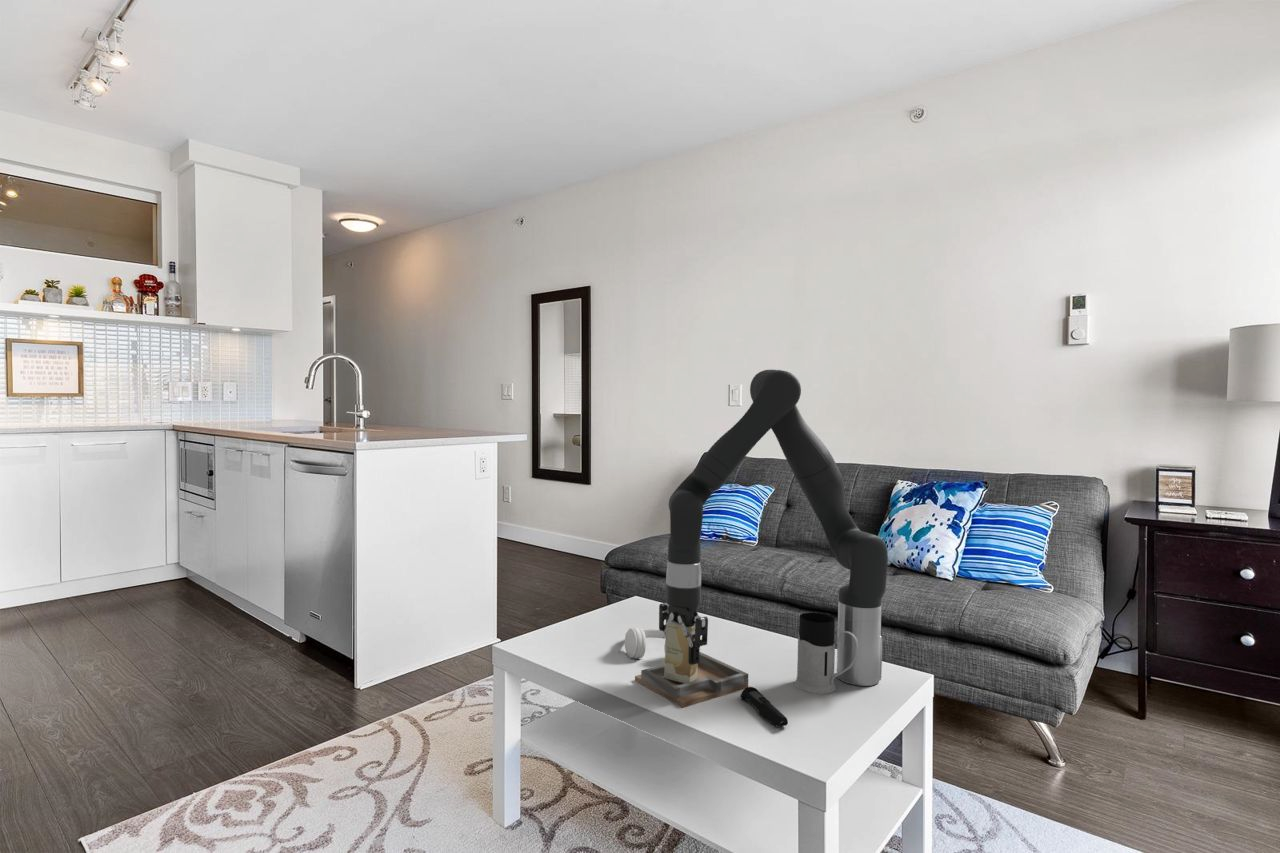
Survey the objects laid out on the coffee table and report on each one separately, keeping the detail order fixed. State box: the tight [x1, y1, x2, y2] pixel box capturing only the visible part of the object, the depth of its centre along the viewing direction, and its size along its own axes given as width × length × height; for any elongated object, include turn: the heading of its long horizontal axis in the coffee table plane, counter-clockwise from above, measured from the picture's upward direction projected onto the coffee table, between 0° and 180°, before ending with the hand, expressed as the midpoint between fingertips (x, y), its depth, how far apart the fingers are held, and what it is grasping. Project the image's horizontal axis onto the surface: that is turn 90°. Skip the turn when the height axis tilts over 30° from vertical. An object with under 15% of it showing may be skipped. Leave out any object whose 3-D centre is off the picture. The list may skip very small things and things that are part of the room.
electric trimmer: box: [740, 686, 789, 727], centre depth 132 cm, size 4×16×3 cm, turn 17°
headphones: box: [624, 627, 666, 660], centre depth 167 cm, size 7×18×20 cm
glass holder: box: [794, 612, 858, 695], centre depth 145 cm, size 9×14×15 cm, turn 42°
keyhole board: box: [634, 651, 749, 708], centre depth 146 cm, size 18×16×3 cm
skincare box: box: [664, 621, 698, 683], centre depth 144 cm, size 6×4×12 cm
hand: (681, 657), depth 144 cm, fingers closed on skincare box, 7 cm apart
